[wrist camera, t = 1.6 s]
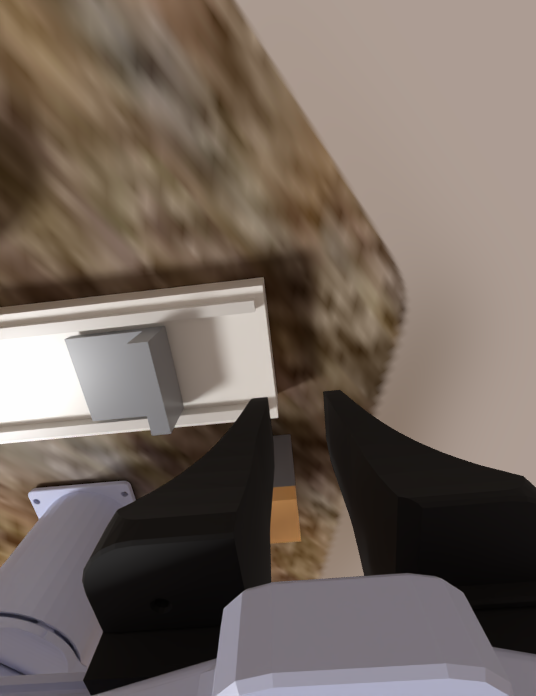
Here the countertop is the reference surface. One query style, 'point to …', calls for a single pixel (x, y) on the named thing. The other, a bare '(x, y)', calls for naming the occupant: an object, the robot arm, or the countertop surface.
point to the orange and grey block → (284, 494)
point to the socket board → (134, 313)
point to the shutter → (128, 376)
